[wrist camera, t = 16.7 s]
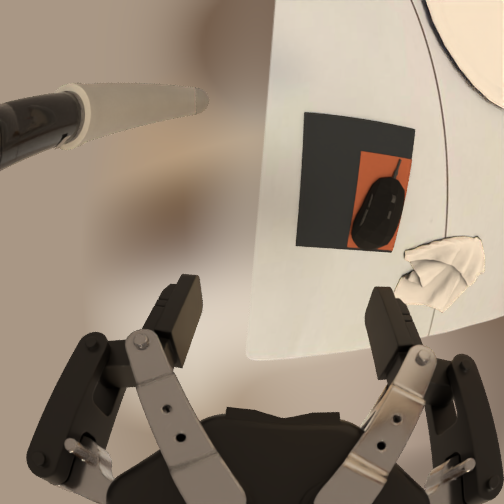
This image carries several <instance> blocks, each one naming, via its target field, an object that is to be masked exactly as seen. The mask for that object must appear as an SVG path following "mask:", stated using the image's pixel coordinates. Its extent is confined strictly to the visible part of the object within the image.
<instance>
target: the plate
mask: <svg viewBox="0 0 504 504" xmlns="http://www.w3.org/2000/svg"><path fill="white" fill-rule="evenodd" d="M425 1H426V4H427V7H428V9H429V12H430V15H431V18H432V22H433V24H434V25H435V27H436V29H437V31H438V33H439V35H440V37H441V40H442V42H443V44H444V46H445V47H446V49H447V50H448V52H449V53H450V55H451V56H452V58H453V59H454V61H455V63H456V64H457V66H458V67H459V69H460V70H461V71H462V72H463V73H464V75H465V76H466V77H467V78H468V80H469V81H470V82H471V83H472V85H473V86H474V87H475V88H476V89H477V90H479V91H480V92H481V93H482V94H483V95H484V96H485V97H486V98H487V99H488V100H489V101H491V102H493V103H495V104H496V105H498V106H500V107H501V108H503V109H504V0H425Z"/></svg>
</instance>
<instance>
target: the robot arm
mask: <svg viewBox="0 0 504 504" xmlns="http://www.w3.org/2000/svg"><path fill="white" fill-rule="evenodd" d="M84 120H85V109H84V104H83V101H82V99H81V97H80V96H79V95H78V94H77V93H75V92H73V91H63V92H59V93H51V94H45V95H39V96H33V97H28V98H23V99H18V100H14V101H10V102H6V103H2V104H0V171H1V170H3V169H5V168H7V167H9V166H11V165H13V164H16V163H18V162H20V161H22V160H24V159H27V158H29V157H31V156H34V155H36V154H39V153H41V152H43V151H46V150H49V149H51V148H54V147H56V148H55V149H57V148H60V147H61V146H62V145H63V144H67V143H70V142H72V141H73V140H75V139H76V138H77V137H78V135H79V134H80V132H81V130H82V128H83V125H84ZM202 308H203V300H202V293H201V286H200V279H199V276H198V275H189V274H182V275H181V277H180V278H179V280H178V282H177V284H170V285H169V286H167V287H166V288H165V289H164V290H163V291H162V293H161V295H160V296H159V299H158V300H157V302H156V304H155V306H154V307H153V309H152V311H151V313H150V315H149V316H148V318H147V320H146V322H145V324H144V326H143V328H142V329H140V330H136V331H134V332H132V333H131V334H130V335H129V336H128V337H127V339H126V340H116V341H108V340H107V338H106V337H105V335H103V334H102V333H99V332H92V333H89V334H87V335H85V336H84V337H83V338H82V339H81V340H80V341H79V343H78V345H77V347H76V349H75V350H74V352H73V354H72V356H71V357H70V359H69V361H68V363H67V365H66V367H65V369H64V371H63V373H62V375H61V377H60V378H59V380H58V382H57V385H56V386H55V388H54V390H53V393H52V395H51V397H50V399H49V401H48V403H47V405H46V407H45V410H44V412H43V414H42V417H41V419H40V421H39V423H38V426H37V428H36V431H35V433H34V435H33V438H32V441H31V443H30V446H29V448H28V451H27V457H26V458H27V464H28V467H29V468H30V470H31V471H32V473H34V474H35V475H36V476H38V477H40V478H42V479H44V480H46V481H48V482H49V483H51V484H53V485H55V486H57V487H59V488H62V489H64V490H66V491H70V492H73V493H76V494H79V495H81V496H83V497H85V498H87V499H89V500H92V501H94V502H96V503H99V504H482V503H485V502H487V501H489V500H492V499H494V498H495V497H496V496H497V495H498V494H499V492H500V491H501V489H502V486H503V481H504V477H503V469H502V461H501V454H500V449H499V443H498V438H497V434H496V429H495V425H494V421H493V417H492V413H491V409H490V406H489V402H488V399H487V396H486V393H485V389H484V386H483V383H482V380H481V377H480V375H479V372H478V369H477V366H476V364H475V362H474V360H473V359H472V358H471V357H469V356H468V355H465V354H459V355H456V356H455V357H454V359H453V360H452V361H447V360H442V359H438V358H436V355H435V353H434V352H433V351H432V350H431V349H430V348H429V347H426V346H424V345H423V344H422V342H421V339H420V337H419V334H418V332H417V329H416V327H415V324H414V322H413V320H412V317H411V315H410V312H409V310H408V308H407V306H406V304H405V303H404V302H403V301H402V300H401V299H400V298H395V295H394V293H393V291H392V289H391V287H374V289H373V291H372V294H371V297H370V300H369V303H368V306H367V309H366V312H365V326H366V329H367V333H368V337H369V342H370V346H371V350H372V354H373V359H374V363H375V367H376V372H377V377H378V380H383V379H387V383H388V384H387V385H386V387H385V389H384V390H383V392H382V394H381V395H380V397H379V399H378V400H377V402H376V404H375V405H374V407H373V409H372V410H371V411H370V413H369V415H368V416H367V417H366V419H365V420H364V422H363V423H362V425H361V426H360V427H358V426H356V425H355V424H353V423H350V422H348V421H345V420H341V419H340V414H339V412H331V413H330V412H327V413H309V414H305V415H299V416H295V417H289V418H280V417H276V416H273V415H270V414H266V413H263V412H259V411H257V410H250V409H240V408H232V407H227V409H226V414H219V415H214V416H211V417H208V418H205V419H203V420H201V421H199V420H198V418H197V416H196V414H195V412H194V410H193V408H192V407H191V405H190V403H189V401H188V399H187V397H186V396H185V393H184V391H183V389H182V387H181V385H180V383H179V381H178V379H177V377H176V375H175V373H174V372H173V369H174V367H178V368H183V365H184V362H185V359H186V356H187V353H188V350H189V347H190V344H191V341H192V339H193V336H194V333H195V330H196V327H197V325H198V322H199V319H200V316H201V313H202ZM127 387H136V390H137V393H138V396H139V399H140V402H141V404H142V407H143V410H144V412H145V415H146V418H147V420H148V422H149V425H150V428H151V430H152V432H153V435H154V437H155V439H156V441H157V444H158V446H159V448H160V450H158V451H157V452H155V453H154V454H152V455H151V456H149V457H148V458H146V459H145V460H143V461H141V462H140V463H139V464H137V465H135V466H134V467H132V468H130V469H129V470H127V471H125V472H124V473H122V474H120V475H119V476H117V477H116V478H115V479H114V478H113V475H112V471H111V468H112V460H111V457H110V455H109V453H108V452H107V451H106V446H107V443H108V440H109V437H110V434H111V431H112V427H113V425H114V422H115V419H116V416H117V413H118V410H119V407H120V404H121V401H122V399H123V396H124V393H125V391H126V388H127ZM453 400H454V401H455V405H456V409H457V416H456V412H455V408H454V403H453ZM424 406H425V411H426V417H427V423H428V429H429V435H430V443H431V452H432V462H433V470H432V471H431V472H430V474H429V476H428V478H427V481H426V483H425V490H424V489H423V488H422V487H421V486H420V485H419V484H418V483H416V482H415V481H414V480H413V479H412V478H411V477H410V476H409V475H408V474H407V473H406V472H405V471H404V470H403V469H402V468H401V467H400V466H399V465H398V464H397V463H396V461H397V459H398V458H399V456H400V454H401V453H402V451H403V449H404V447H405V445H406V443H407V441H408V439H409V437H410V436H411V434H412V431H413V430H414V428H415V426H416V423H417V421H418V419H419V417H420V415H421V412H422V410H423V408H424Z"/></svg>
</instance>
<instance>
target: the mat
mask: <svg viewBox="0 0 504 504" xmlns="http://www.w3.org/2000/svg"><path fill="white" fill-rule="evenodd" d="M414 136H415V129H411V128H406V127H402V126H397V125H392V124H387V123H382V122H377V121H371V120H365V119H359V118H352V117H345V116H337V115H328V114H318V113H307V112H305V114H304V138H303V158H302V175H301V190H300V203H299V216H298V228H297V239H296V246H304V247H319V248H334V249H348V250H362V251H367V250H364V249H361V248H358V247H357V245H356V244H355V243H354V242H353V239H352V235H351V232H352V226H353V222H354V220H355V217H356V215H357V213H358V211H359V210H360V208H361V206H362V204H363V202H364V199H365V197H366V195H367V193H368V191H369V189H370V188H371V186H372V184H373V183H375V182H376V181H377V180H378V179H379V178H385V177H392V178H393V175H394V171H395V170H396V168H397V165H398V162H399V159H401V160H402V161H401V164H400V167H399V170H398V175H397V176H396V179H397V180H399V182H400V183H401V185H402V187H403V188H404V190H405V197H406V192H407V186H408V181H409V175H410V169H411V163H412V160H411V159H412V152H413V145H414ZM404 201H405V200H404ZM400 220H401V218H400ZM399 224H400V222H399ZM398 228H399V225H398V227H397V230H396V232H395V234H394V236H393V238H392V239H391V241H390V242H389V243H388V245H385V246H383V247H380V248H378V249H374V250H369V251H376V252H390V253H391V252H392V250H393V247H394V243H395V240H396V236H397V232H398Z"/></svg>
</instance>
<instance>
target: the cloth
mask: <svg viewBox="0 0 504 504" xmlns="http://www.w3.org/2000/svg"><path fill="white" fill-rule="evenodd" d="M405 260H406V261H410V263H411V265H412V267H413V268H414V271H412V272H411V273H410V274H407V275H405V276H403V277H401V279H400V280H399V282H398V285H397V287H396V289H395V291H394V295H395V298H400V299H401V300H402V301H403V302H404V303H405V304H416V305H426V306H429V307H432V308H435V309H438V310H439V311H440V312H441V313H443V312H444V311H445V310H446V309H447V308H448V307H449V306H450V305H451V304H452V303H453V302H454V301H455V300H456V299H457V298H458V297H459V296H460V295H461V294H462V293H463V292H464V291H465V289H466V288H467V287H469V286H470V285H472V284H473V283H474V282H475V281H476V280H477V277H478V275H479V274H483V272H484V271H485V268H484V265H485V258H484V250H483V246H482V242H481V239H480V238H479V237H475V238H471V237H465V236H460V237H452V238H445V239H442V240H440V241H433V242H431V243H429V244H428V245H422V246H419V247H417V248H415V249H413V250H407V251H405Z"/></svg>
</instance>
